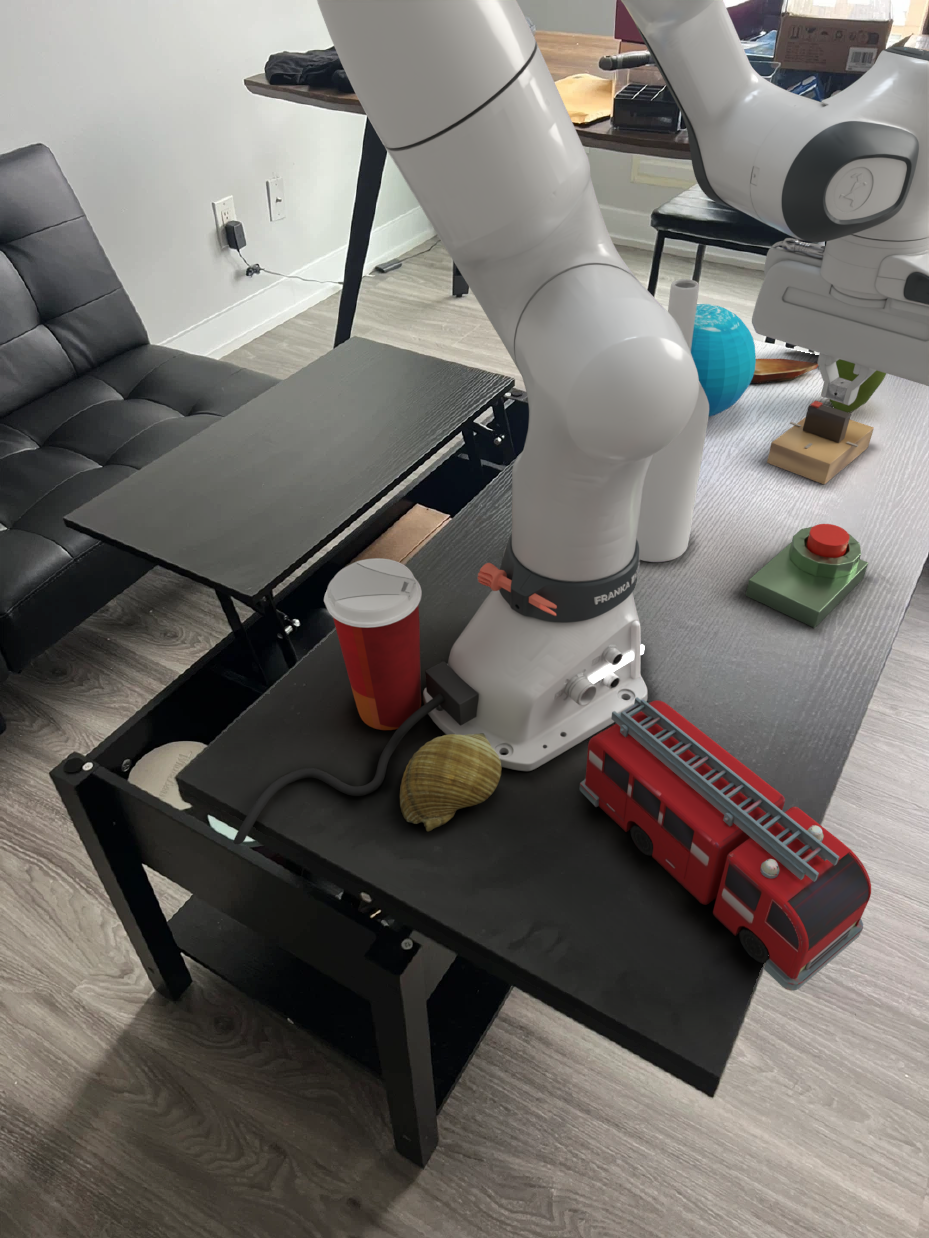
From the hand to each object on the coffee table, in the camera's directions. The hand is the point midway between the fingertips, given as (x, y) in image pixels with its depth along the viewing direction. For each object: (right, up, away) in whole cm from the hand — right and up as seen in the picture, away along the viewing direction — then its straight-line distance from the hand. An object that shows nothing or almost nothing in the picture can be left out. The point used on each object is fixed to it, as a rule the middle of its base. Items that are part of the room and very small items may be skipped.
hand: (837, 399), depth 91 cm
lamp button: (+2, -14, +7) cm, 16 cm away
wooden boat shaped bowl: (+8, +16, +43) cm, 47 cm away
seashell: (-39, -37, -12) cm, 55 cm away
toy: (-18, -42, -18) cm, 49 cm away
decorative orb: (-5, +7, +38) cm, 39 cm away
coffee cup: (-44, -31, -4) cm, 54 cm away
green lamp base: (0, -19, +8) cm, 20 cm away
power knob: (+9, +2, +26) cm, 27 cm away
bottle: (-16, -13, +15) cm, 25 cm away
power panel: (+9, -1, +28) cm, 29 cm away
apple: (+16, +7, +37) cm, 41 cm away
